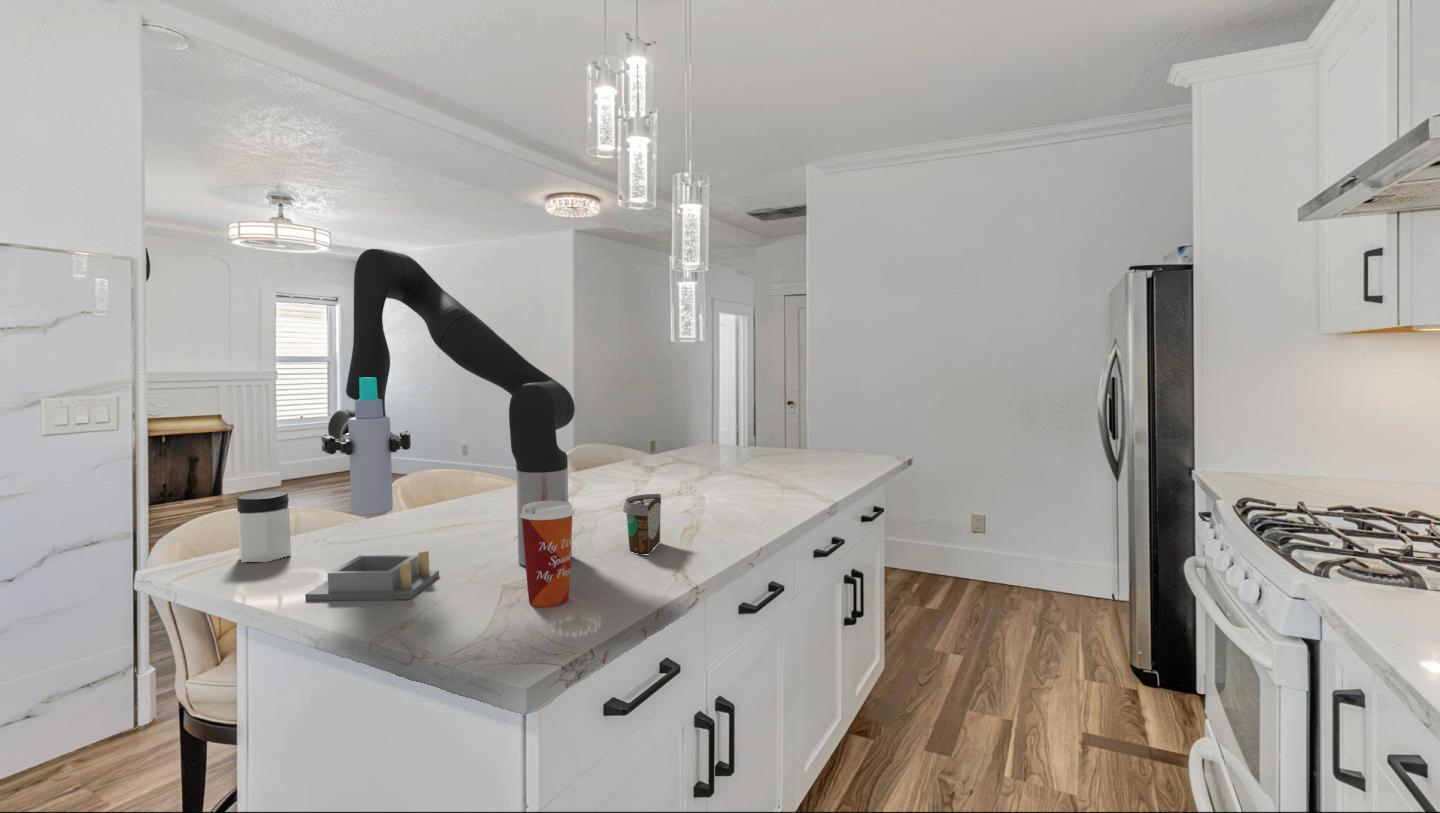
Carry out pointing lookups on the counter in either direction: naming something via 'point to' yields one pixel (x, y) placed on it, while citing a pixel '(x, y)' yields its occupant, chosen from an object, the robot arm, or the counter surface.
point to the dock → (377, 578)
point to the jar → (263, 526)
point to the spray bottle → (370, 454)
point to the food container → (643, 522)
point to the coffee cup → (547, 551)
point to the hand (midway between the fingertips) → (371, 446)
